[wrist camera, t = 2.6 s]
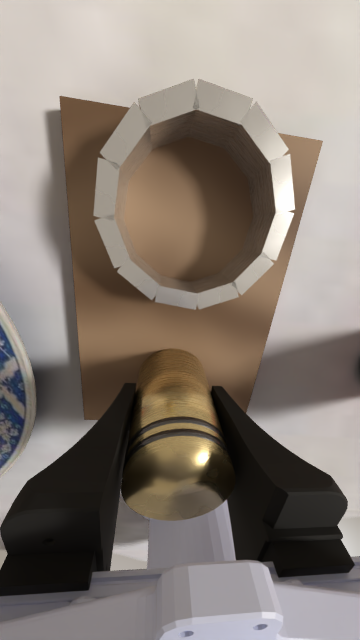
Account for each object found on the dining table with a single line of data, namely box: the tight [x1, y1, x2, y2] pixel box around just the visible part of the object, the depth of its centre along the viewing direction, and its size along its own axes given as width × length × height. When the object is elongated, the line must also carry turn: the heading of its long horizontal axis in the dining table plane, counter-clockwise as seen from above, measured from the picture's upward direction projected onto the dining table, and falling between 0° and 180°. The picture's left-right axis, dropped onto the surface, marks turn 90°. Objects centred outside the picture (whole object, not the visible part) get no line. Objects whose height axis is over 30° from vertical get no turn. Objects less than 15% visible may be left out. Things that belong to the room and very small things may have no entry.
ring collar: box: [93, 79, 295, 310], centre depth 10 cm, size 8×8×2 cm
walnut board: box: [60, 96, 323, 420], centre depth 14 cm, size 18×12×1 cm, turn 174°
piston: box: [121, 348, 236, 521], centre depth 12 cm, size 5×5×7 cm
